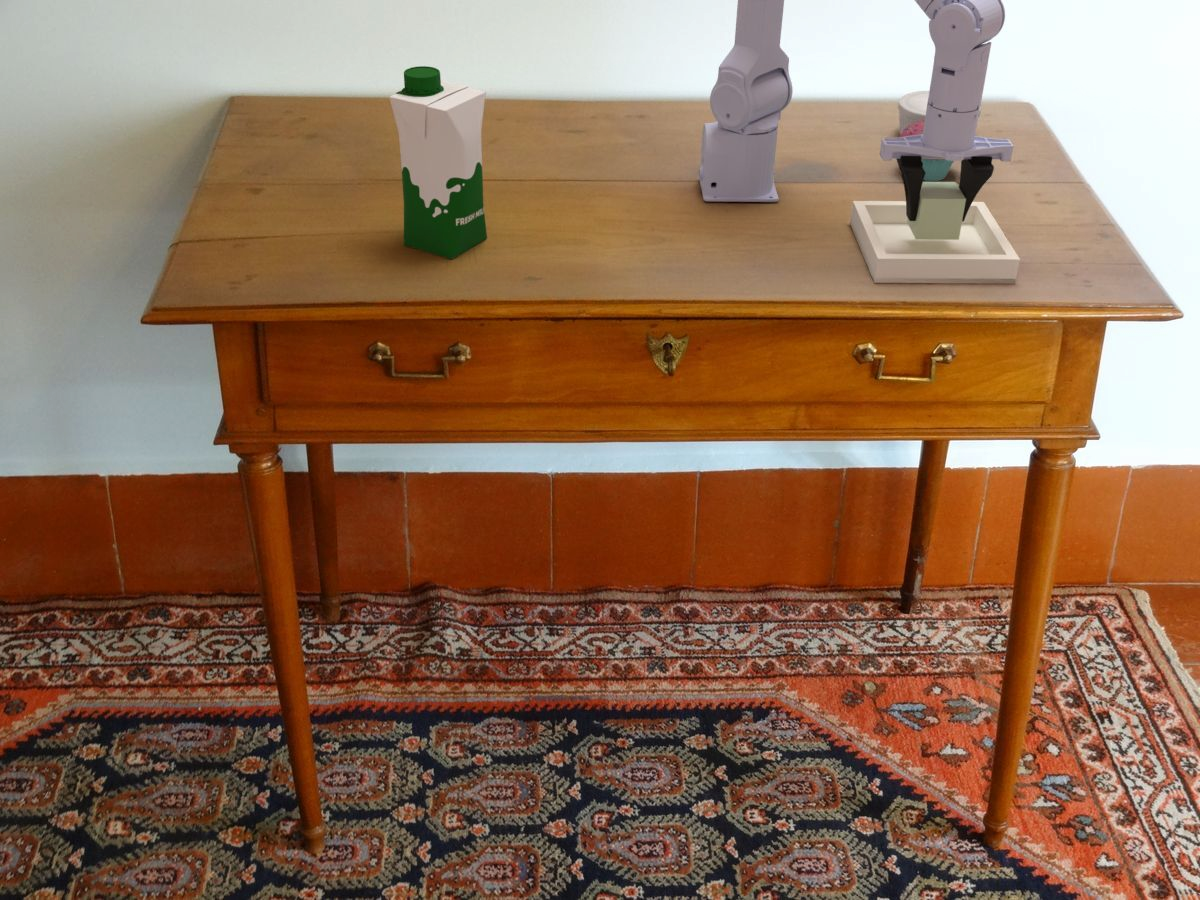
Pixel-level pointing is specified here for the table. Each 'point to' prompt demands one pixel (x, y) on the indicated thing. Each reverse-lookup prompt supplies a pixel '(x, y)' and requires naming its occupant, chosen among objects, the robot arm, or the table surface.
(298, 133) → the table surface
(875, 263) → the cream bin
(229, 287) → the table surface
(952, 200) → the sage block
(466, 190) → the milk carton
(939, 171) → the cupcake
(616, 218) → the table surface
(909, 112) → the ramekin
